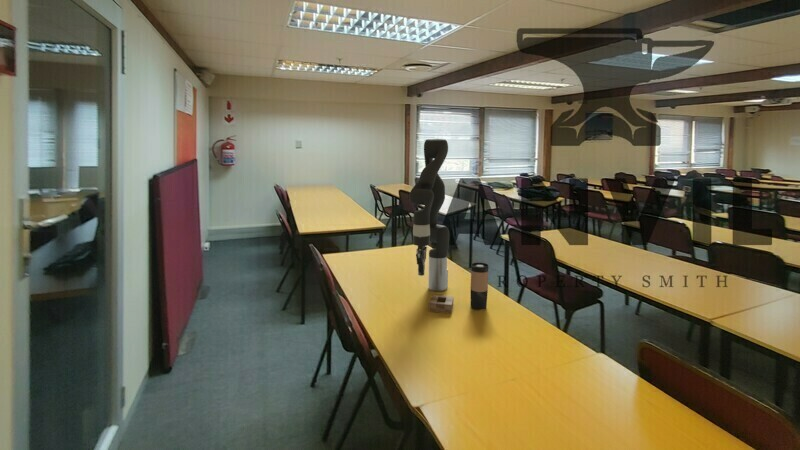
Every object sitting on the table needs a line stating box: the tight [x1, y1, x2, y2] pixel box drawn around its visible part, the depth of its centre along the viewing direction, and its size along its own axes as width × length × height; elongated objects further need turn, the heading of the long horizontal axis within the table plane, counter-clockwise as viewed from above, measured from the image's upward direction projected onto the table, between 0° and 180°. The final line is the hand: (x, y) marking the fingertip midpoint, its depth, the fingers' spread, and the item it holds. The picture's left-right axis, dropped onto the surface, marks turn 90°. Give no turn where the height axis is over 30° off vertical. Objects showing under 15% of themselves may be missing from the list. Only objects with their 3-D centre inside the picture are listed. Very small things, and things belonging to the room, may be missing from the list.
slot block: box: [428, 294, 455, 314], centre depth 186 cm, size 10×10×4 cm
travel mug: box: [470, 262, 489, 311], centre depth 186 cm, size 8×8×20 cm
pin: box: [417, 257, 425, 277], centre depth 184 cm, size 3×3×10 cm
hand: (421, 271), depth 185 cm, fingers closed on pin, 2 cm apart
